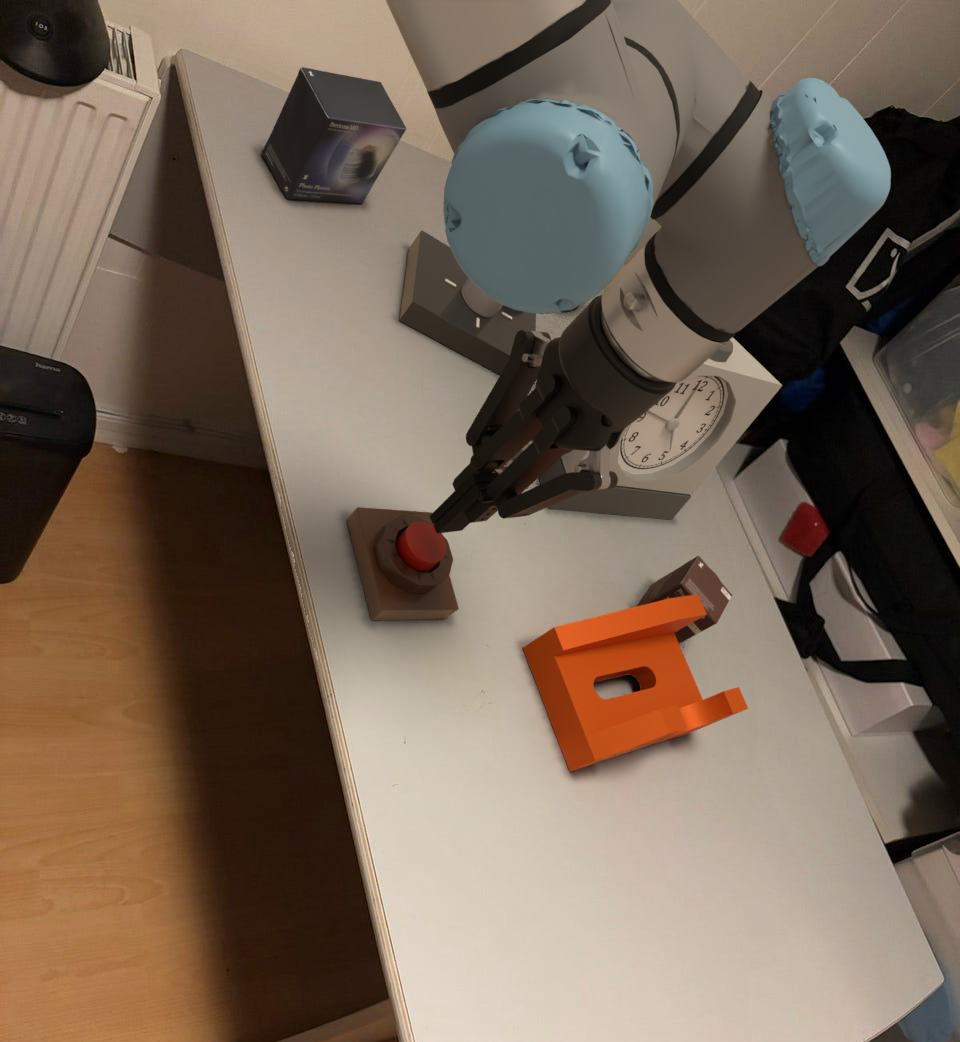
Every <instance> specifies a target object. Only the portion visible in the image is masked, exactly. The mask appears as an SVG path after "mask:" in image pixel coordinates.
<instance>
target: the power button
mask: <svg viewBox="0 0 960 1042" xmlns="http://www.w3.org/2000/svg"><path fill="white" fill-rule="evenodd" d="M442 535H443V534H442ZM442 535H441V533H438V534H437V533H436V530H435V528H434V526H432V525H430V524H428V523H425V522H415V523H412V524H411V525H410V526H409V527H408V528H407V529H406V530H405V531H404V532H403V533H402V534H401V535H400V536H399V537H398V540H397V551H398V554H399V556H400V558H401V559H402V560H403V562H404V563H405V564H406V565H407V566H409V567H410V568H412V569H414V570H416V571H428V570H430V569H431V568H433V567H434V566H435V565H436V564H437V563H438V562H439V561H440V560H442V559H443V557H444V556H445V553H446V544H445V540H444V538H443V536H444V535H443V536H442Z"/></svg>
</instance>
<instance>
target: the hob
mask: <svg viewBox="0 0 960 1042" xmlns="http://www.w3.org/2000/svg"><path fill="white" fill-rule="evenodd" d="M467 279H468V277H467V276H466V275H465V273H464V272H463V270H462V269H461V267H460V266H459V264H458V263H457V261H456V259H455V257H454V255H453V253H452V251H451V248H450V246H449V245H447V244H446V243H444V242H443V241H441V240H439V239H438V238H435V237H434V236H432V235H431V234H429V233H427V232H426V231H424V230H420V231H419V233H418V234H417V235H416V238H415V239H414V240H413V242H412V243H411V245H410V247H409V248H408V253H407V260H406V267H405V275H404V282H403V289H402V297H401V305H400V313H399V322H401V323H402V324H404V325H406V326H408V327H410V328H412V329H414V330H416V331H418V332H419V333H421V334H423V335H425V336H427V337H429V338H431V339H432V340H434V341H436V342H438V343H439V344H441V345H444V346H446V347H447V348H449V349H451V350H453V351H455V352H457V353H459V354H460V355H462V356H463V357H466V358H468V359H469V360H471V361H473V362H475V363H477V364H479V365H480V366H483V367H484V368H486V369H488V370H490V371H491V372H494V373H495V374H497V375H499V376H500V375H501V373H502V371H503V369H504V368H505V366H506V364H507V363H508V361H509V358H510V354H511V351H512V347H513V343H514V340H515V336H516V334H517V332H518V331H520V330H527V331H537V330H536V329H537V314H534V313H526V312H522V311H518V310H514V309H512V308H509V307H507V306H504V305H503V306H502V307H501V308H500V310H499V311H498V312H497V313H496V314H495V315H494V316H493V317H483V316H481V315H479V314H477V313H476V312H474V311H473V310H472V309H471V308H470V307H469V306H468V305H467V304H466V302H465V301H464V299H463V296H462V293H461V288H462V285H463V284H464V283H465V281H466V280H467Z"/></svg>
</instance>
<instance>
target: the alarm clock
mask: <svg viewBox="0 0 960 1042" xmlns="http://www.w3.org/2000/svg"><path fill="white" fill-rule="evenodd" d="M602 293H603V291H601V292H600V293H599V294H598V296H600V295H602ZM782 387H783V384H782V383H780V381H779V380H777V379H776V377H775V376H774V375H772V374H771V373H770V372H769V371H768V370H767V369H766V368H765V367H764V366H763V365H762V364H761V362H759V361H758V360H757V359H756V358H755V357H754V356H753V355H752V354H751V353H750V352H748V351H747V349H745V348H744V346H743V345H741V344H740V342H738V341H737V340H736V339H735V338H734V336H733V337H732V338H731V339H730V340H729V341H728V342H727V343H726V344H725V345H724V346H722V347H721V348H720V349H719V350H718V351H717V352H716V353H715V354H713V355H712V356H711V357H710V358H709V359H708V360H707V361H705V362H704V363H703V364H702V365H701V366H700V367H699V368H698V369H696V370H695V371H694V372H693V373H692V374H691V375H690V376H689V377H687V378H686V379H685V380H683V381H681V382H676V385H675V387H674V388H673V389H672V390H671V391H670V392H669V393H668V394H667V395H666V396H664V397H663V398H662V399H661V400H660V401H659V402H657V403H656V404H655V405H654V406H653V407H652V408H650V409H649V410H648V411H647V412H646V413H644V414H643V415H642V416H641V417H640V418H638V419H637V420H636V421H634V422H633V423H631V424H630V425H628V426H627V427H626V428H625V429H624V431H623V432H622V434H621V436H620V439H619V441H618V443H617V444H616V445H615V446H614V447H613V448H612V449H610V460H609V471H613V472H615V473H616V475H617V477H618V483H617V485H616V487H614V488H612V489H603V490H592V491H584V492H582V493H579V494H577V495H575V496H572V497H570V498H568V499H565V500H563V501H561V502H559V503H556V504H554V505H552V506H549V507H547V508H548V509H552V510H561V511H562V510H563V511H572V512H583V513H594V514H603V515H604V514H605V515H613V516H614V515H616V516H625V517H637V518H647V519H657V520H667V521H668V520H670V521H672V520H673V519H674V518H675V517H676V516H677V515H678V514H679V512H680V511H681V510H682V509H683V507H684V506H685V505H686V504H687V503H688V502H689V500H690V499H691V498H692V496H693V495H694V494H695V493H696V492H697V490H698V489H699V488H700V487H701V486H702V484H704V481H706V479H707V478H708V477H709V476H710V474H711V473H712V472H713V471H714V469H715V468H717V466H718V464H720V462H721V461H722V460H723V459H724V457H725V456H726V455H727V454H728V452H729V451H730V450H731V449H732V448H733V447H734V445H735V444H736V443H737V441H739V439H740V438H741V437H742V435H743V434H744V433H745V432H746V431H747V429H748V428H749V427H750V426H751V424H752V423H753V422H754V421H755V419H756V418H757V417H758V416H759V415H760V414H761V412H762V411H763V410H764V409H765V407H766V406H767V405H768V404H769V402H771V400H772V399H773V398H774V396H775V395H776V394H778V392H779V391H780V389H781V388H782ZM589 453H590V451H585V450H572V451H571V452H569V453H566V454H564V455H563V456H562V457H561V458H559V459H558V460H557V461H556V462H555V463H554V464H553V465H552V466H551V467H550V468H548V469H547V470H546V471H545V472H544V473H543V474H542V475H541V476H540V477H539V478H538V480H539V483H540V485H541V484H543V483H545V482H547V481H549V480H551V479H553V478H556V477H558V476H560V475H562V474H565V473H570V472H575V471H574V467H575V466H576V465H579V463H580V462H581V461H582V460H585V459H586V458H587V457H588V456H589Z"/></svg>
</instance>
